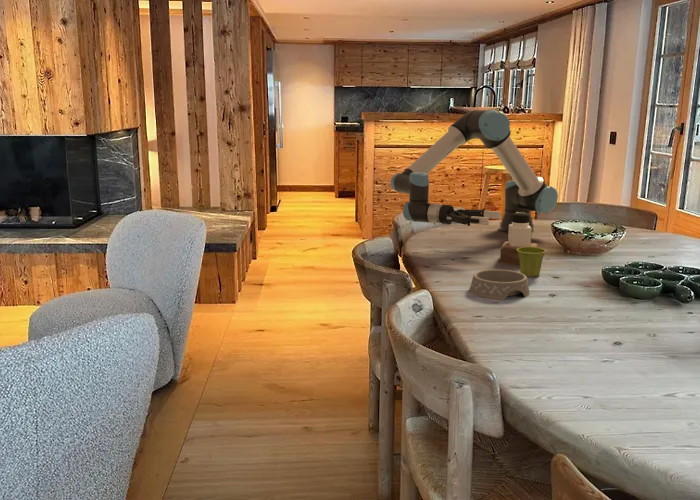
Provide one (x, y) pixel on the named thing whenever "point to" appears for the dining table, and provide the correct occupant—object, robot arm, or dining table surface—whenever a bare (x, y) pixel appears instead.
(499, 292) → the dog bowl
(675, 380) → the dining table surface
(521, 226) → the medicine bottle
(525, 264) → the plant pot
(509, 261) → the walnut box
